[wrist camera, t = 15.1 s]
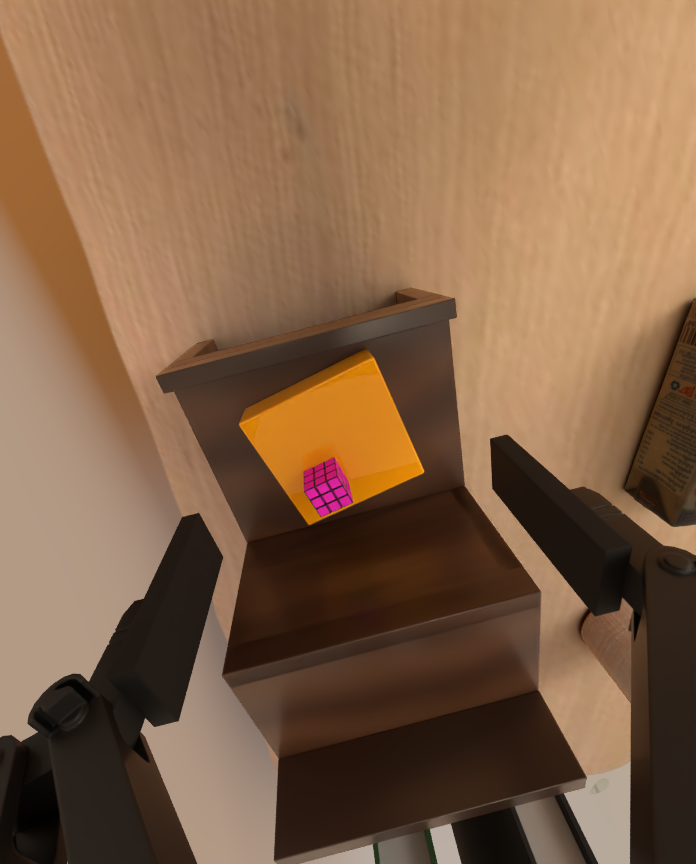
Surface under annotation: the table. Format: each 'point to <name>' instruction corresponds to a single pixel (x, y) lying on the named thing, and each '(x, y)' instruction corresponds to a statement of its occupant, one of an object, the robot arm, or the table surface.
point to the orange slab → (333, 438)
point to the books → (502, 838)
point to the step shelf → (376, 605)
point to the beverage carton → (671, 440)
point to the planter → (611, 644)
